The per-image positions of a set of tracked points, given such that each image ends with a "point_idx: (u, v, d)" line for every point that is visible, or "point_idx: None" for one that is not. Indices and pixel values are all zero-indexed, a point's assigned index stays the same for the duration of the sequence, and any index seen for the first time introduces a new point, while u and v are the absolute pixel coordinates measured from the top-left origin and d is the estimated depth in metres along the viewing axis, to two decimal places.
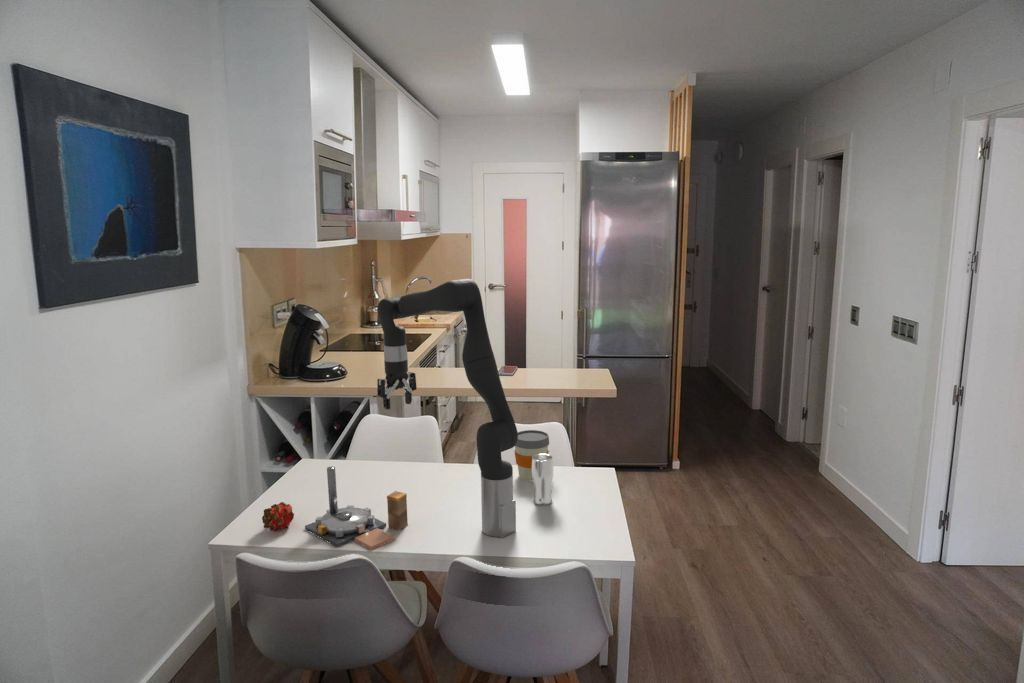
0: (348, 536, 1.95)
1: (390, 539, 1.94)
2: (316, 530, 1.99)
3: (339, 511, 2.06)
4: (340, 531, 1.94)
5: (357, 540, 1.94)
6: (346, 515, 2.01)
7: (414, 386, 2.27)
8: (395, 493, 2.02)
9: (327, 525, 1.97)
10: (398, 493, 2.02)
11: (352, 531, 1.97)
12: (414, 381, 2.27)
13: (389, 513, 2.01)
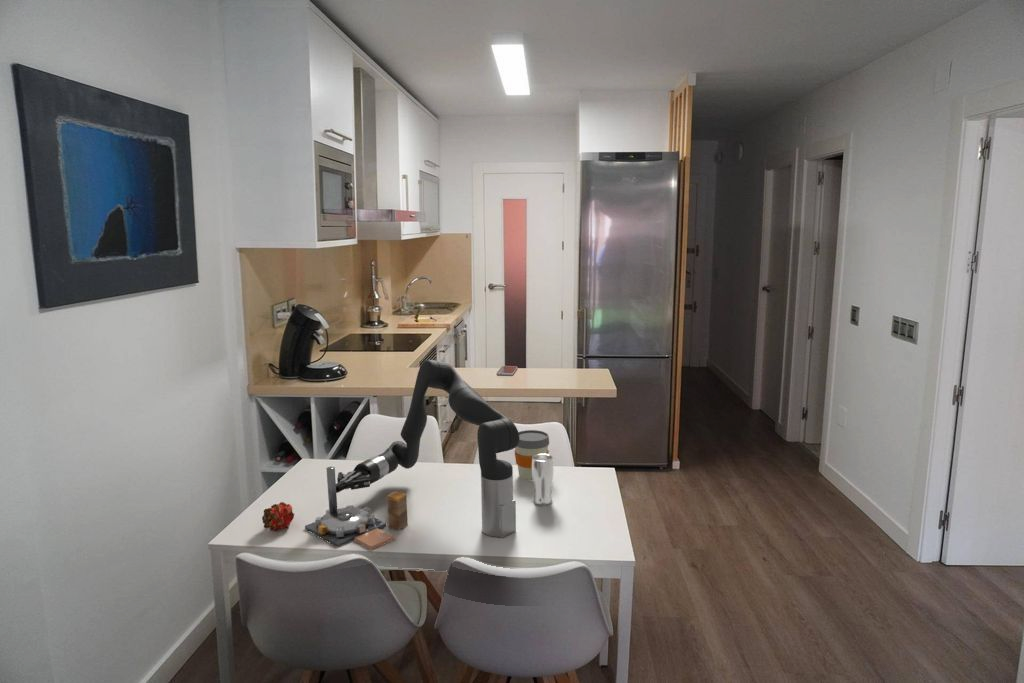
0: (348, 536, 1.95)
1: (390, 539, 1.94)
2: (316, 530, 1.99)
3: (339, 511, 2.06)
4: (341, 531, 1.94)
5: (357, 540, 1.94)
6: (346, 515, 2.01)
7: (354, 480, 2.09)
8: (395, 493, 2.02)
9: (327, 525, 1.97)
10: (398, 493, 2.02)
11: (353, 531, 1.97)
12: (359, 480, 2.10)
13: (389, 513, 2.01)
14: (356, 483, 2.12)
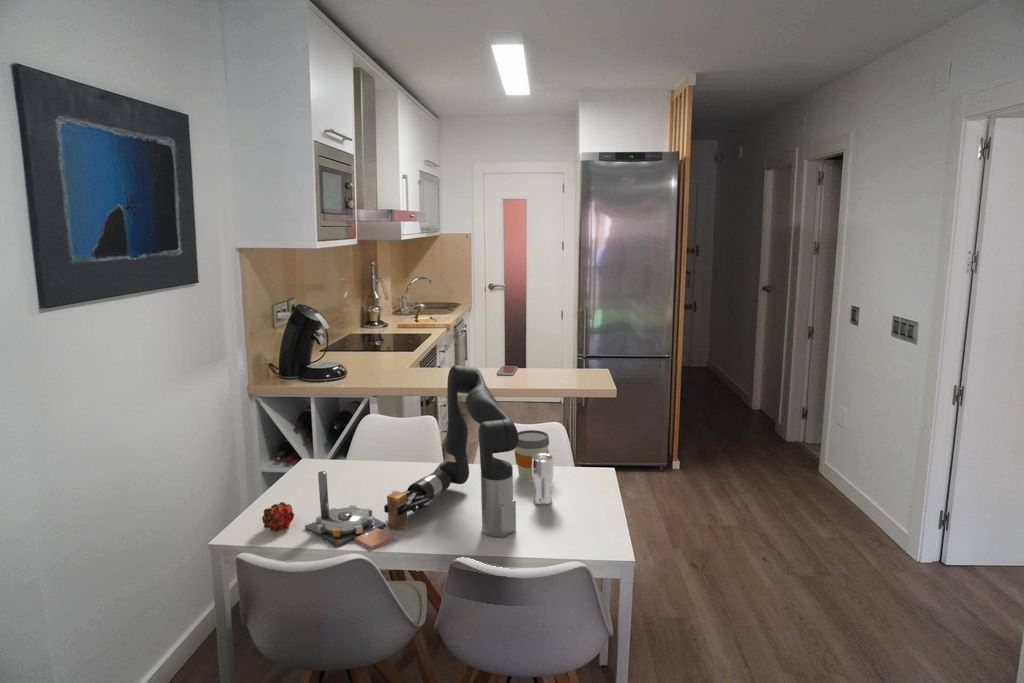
0: (348, 536, 1.95)
1: (390, 539, 1.94)
2: (316, 530, 1.99)
3: (330, 515, 2.04)
4: (360, 527, 1.96)
5: (357, 540, 1.94)
6: (348, 514, 2.02)
7: (415, 502, 2.02)
8: (395, 493, 2.02)
9: (340, 527, 1.96)
10: (398, 493, 2.02)
11: (365, 525, 2.00)
12: (420, 501, 2.03)
13: (389, 513, 2.01)
14: None
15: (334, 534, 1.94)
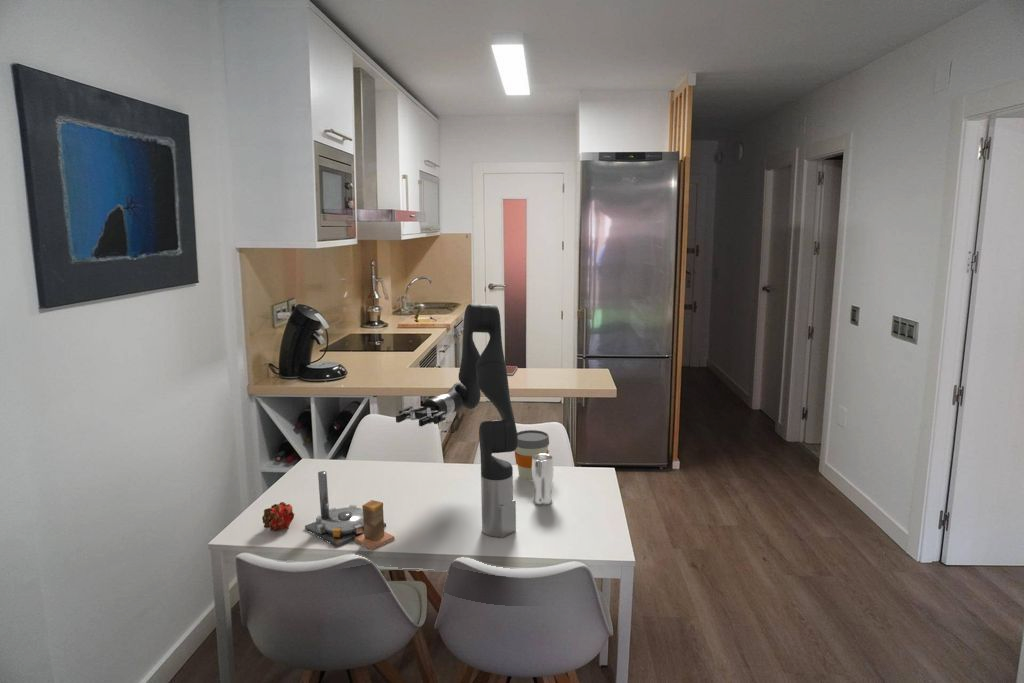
0: (348, 536, 1.95)
1: (390, 539, 1.94)
2: (316, 530, 1.99)
3: (330, 515, 2.04)
4: (360, 527, 1.96)
5: (357, 540, 1.94)
6: (348, 514, 2.02)
7: (436, 415, 2.08)
8: (371, 502, 1.94)
9: (340, 527, 1.96)
10: (374, 502, 1.94)
11: None
12: (439, 413, 2.09)
13: (365, 523, 1.93)
14: None
15: (334, 534, 1.94)
